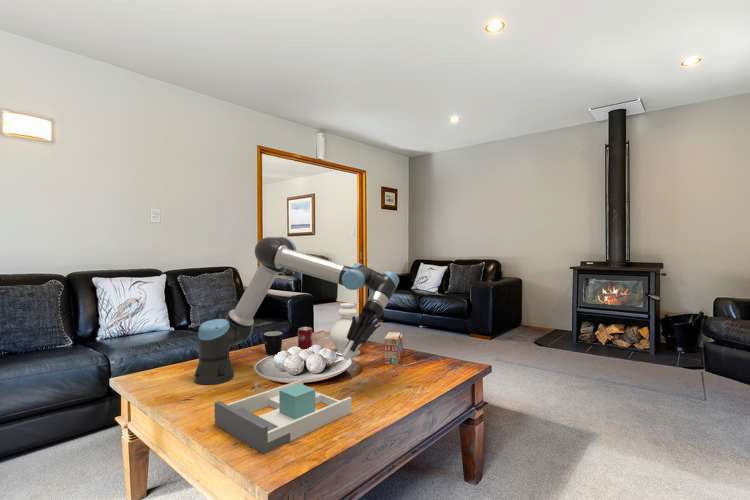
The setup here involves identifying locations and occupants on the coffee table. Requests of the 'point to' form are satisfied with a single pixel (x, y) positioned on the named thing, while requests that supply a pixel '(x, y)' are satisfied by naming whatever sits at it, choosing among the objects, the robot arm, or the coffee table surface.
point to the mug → (273, 342)
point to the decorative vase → (343, 328)
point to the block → (297, 401)
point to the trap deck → (275, 419)
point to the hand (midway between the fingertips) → (345, 357)
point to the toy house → (393, 347)
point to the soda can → (304, 337)
